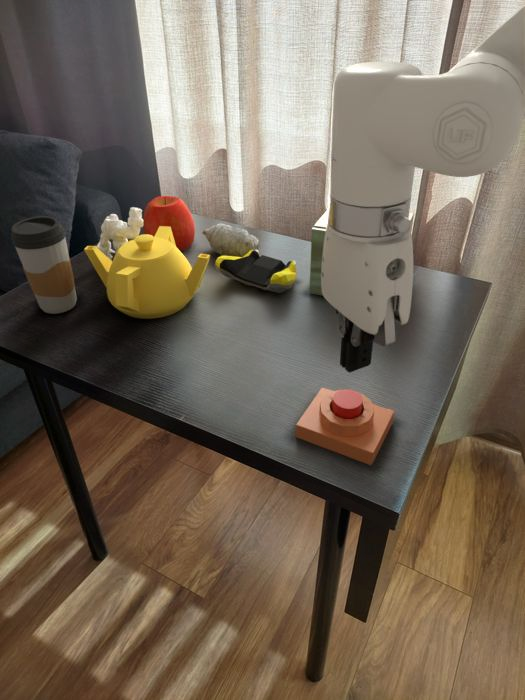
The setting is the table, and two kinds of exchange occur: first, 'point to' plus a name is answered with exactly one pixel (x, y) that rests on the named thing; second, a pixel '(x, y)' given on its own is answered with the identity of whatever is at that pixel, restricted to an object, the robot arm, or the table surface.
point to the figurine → (119, 231)
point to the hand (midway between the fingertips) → (355, 365)
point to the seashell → (231, 240)
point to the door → (316, 260)
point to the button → (347, 404)
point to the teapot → (149, 275)
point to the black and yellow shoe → (259, 271)
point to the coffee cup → (46, 262)
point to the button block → (345, 427)
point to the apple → (170, 220)
